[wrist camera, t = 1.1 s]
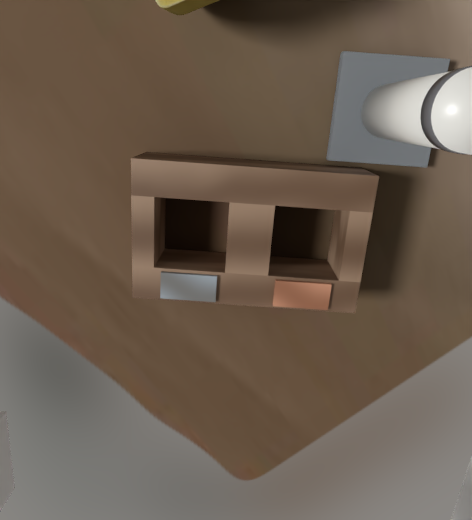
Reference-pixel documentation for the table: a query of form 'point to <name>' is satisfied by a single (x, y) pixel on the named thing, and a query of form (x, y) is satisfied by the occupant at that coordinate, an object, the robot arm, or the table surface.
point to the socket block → (250, 232)
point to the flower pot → (183, 5)
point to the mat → (352, 98)
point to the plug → (424, 111)
